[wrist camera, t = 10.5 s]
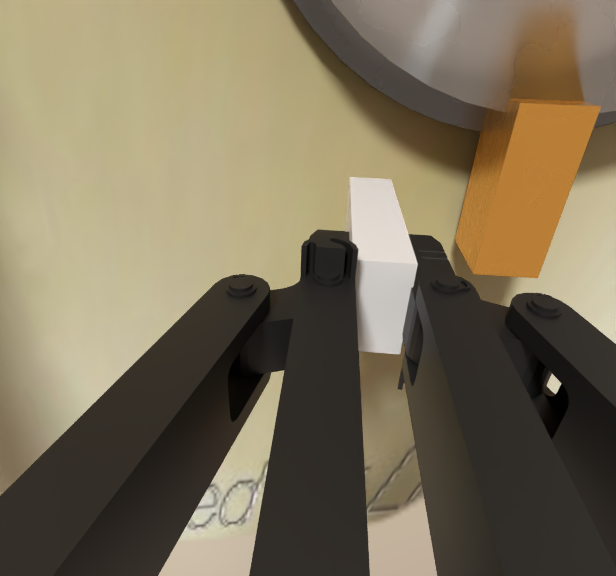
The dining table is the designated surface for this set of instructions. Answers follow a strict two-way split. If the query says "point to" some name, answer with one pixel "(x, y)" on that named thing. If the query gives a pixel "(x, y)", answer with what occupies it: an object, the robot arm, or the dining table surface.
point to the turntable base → (394, 71)
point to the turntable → (507, 104)
